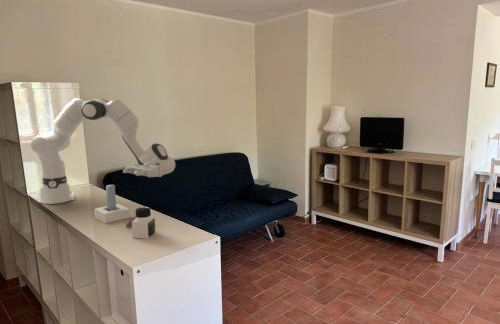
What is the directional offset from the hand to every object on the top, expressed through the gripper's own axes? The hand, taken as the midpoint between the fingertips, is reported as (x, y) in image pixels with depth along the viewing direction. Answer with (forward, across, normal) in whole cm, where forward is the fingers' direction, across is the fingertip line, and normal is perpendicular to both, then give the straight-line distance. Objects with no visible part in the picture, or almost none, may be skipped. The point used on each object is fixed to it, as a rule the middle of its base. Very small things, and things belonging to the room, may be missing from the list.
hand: (129, 172), depth 175 cm
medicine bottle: (+20, +32, +20) cm, 43 cm away
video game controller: (+16, +23, +20) cm, 35 cm away
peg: (+12, +1, +21) cm, 24 cm away
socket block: (+12, +1, +21) cm, 24 cm away
